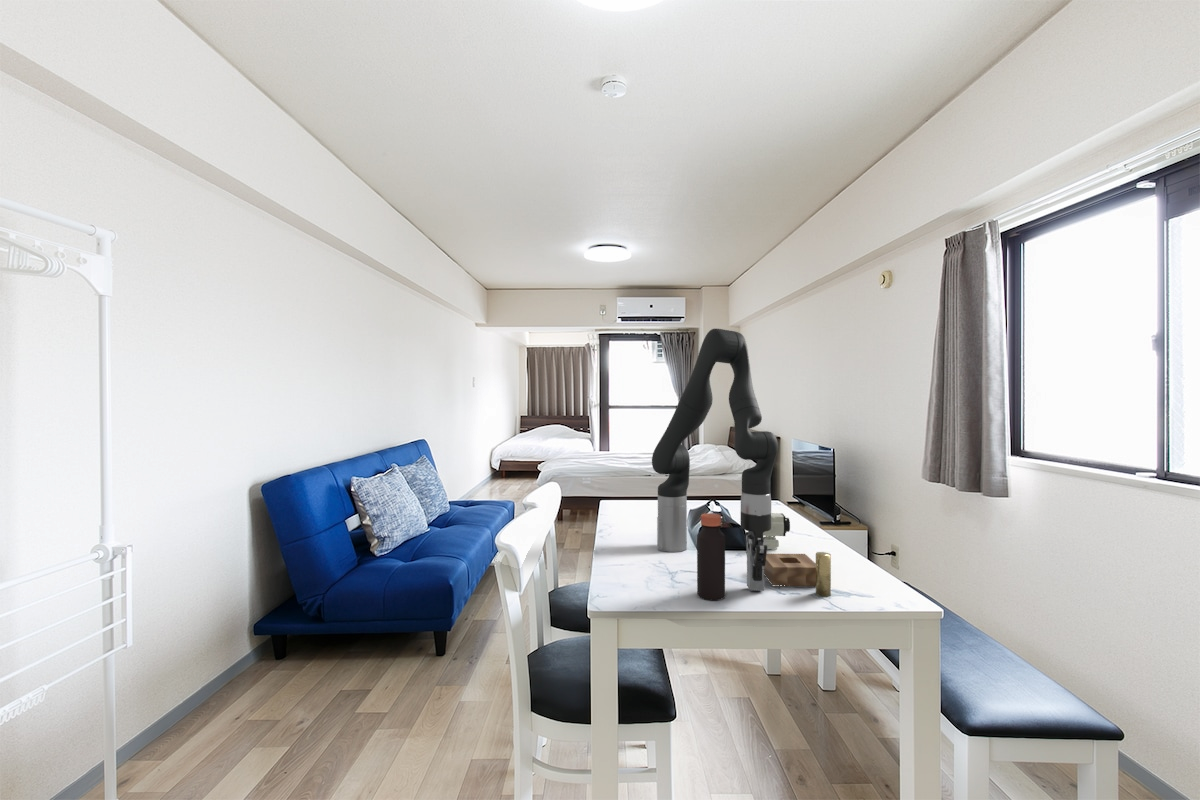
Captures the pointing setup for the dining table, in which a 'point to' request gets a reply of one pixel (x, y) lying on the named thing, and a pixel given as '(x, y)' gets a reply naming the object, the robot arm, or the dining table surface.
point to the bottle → (711, 558)
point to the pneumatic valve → (776, 530)
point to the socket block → (790, 570)
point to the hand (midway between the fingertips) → (755, 577)
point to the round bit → (823, 574)
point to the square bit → (750, 582)
